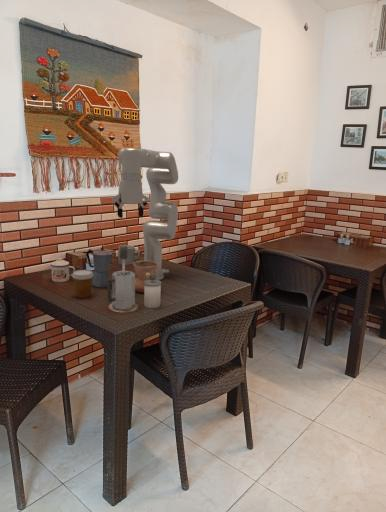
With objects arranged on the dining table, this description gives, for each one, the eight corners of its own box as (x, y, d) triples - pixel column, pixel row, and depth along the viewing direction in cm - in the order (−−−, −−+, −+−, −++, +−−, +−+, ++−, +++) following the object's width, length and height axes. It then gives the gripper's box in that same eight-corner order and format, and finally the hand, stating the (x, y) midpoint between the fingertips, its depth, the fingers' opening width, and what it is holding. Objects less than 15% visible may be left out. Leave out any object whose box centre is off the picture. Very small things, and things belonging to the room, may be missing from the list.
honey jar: (82, 302, 178) (82, 276, 175) (68, 297, 183) (67, 272, 180) (98, 296, 186) (97, 272, 183) (83, 292, 191) (83, 268, 188)
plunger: (125, 284, 173) (125, 245, 168) (128, 286, 170) (128, 247, 166) (119, 285, 171) (119, 246, 167) (121, 287, 169) (121, 247, 164)
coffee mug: (118, 264, 239) (118, 248, 236) (118, 260, 248) (118, 245, 246) (140, 264, 242) (140, 248, 239) (139, 260, 251) (139, 245, 249)
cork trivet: (130, 301, 182) (130, 299, 182) (143, 310, 172) (143, 309, 171) (103, 305, 175) (103, 304, 175) (115, 316, 165) (115, 314, 164)
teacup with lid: (50, 282, 202) (49, 260, 199) (53, 277, 210) (52, 256, 207) (74, 282, 204) (73, 260, 201) (76, 277, 212) (75, 256, 210)
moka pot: (110, 289, 196) (110, 250, 191) (81, 286, 199) (80, 247, 194) (118, 283, 205) (118, 246, 200) (90, 280, 208) (89, 243, 203)
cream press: (155, 302, 182) (156, 270, 178) (163, 308, 176) (164, 274, 172) (140, 305, 178) (141, 272, 174) (148, 311, 171) (149, 276, 168)
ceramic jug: (162, 296, 190) (163, 267, 187) (132, 297, 187) (132, 268, 184) (156, 284, 207) (157, 258, 204) (128, 285, 204) (129, 258, 200)
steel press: (129, 301, 180) (129, 269, 176) (138, 308, 172) (139, 275, 168) (103, 305, 173) (103, 272, 169) (112, 313, 165) (112, 279, 162)
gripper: (145, 177, 178) (144, 215, 183) (108, 176, 169) (108, 216, 173) (152, 178, 172) (151, 217, 176) (115, 178, 163) (115, 219, 167)
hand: (130, 217), depth 175 cm, fingers open, 9 cm apart
